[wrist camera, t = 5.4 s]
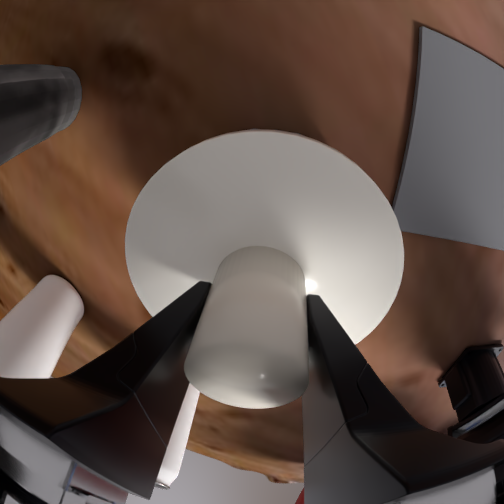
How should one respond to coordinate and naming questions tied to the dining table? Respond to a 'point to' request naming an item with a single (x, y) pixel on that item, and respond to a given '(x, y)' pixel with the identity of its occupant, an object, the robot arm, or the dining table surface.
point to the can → (178, 440)
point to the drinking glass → (39, 329)
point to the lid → (263, 256)
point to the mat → (454, 147)
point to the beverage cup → (35, 105)
